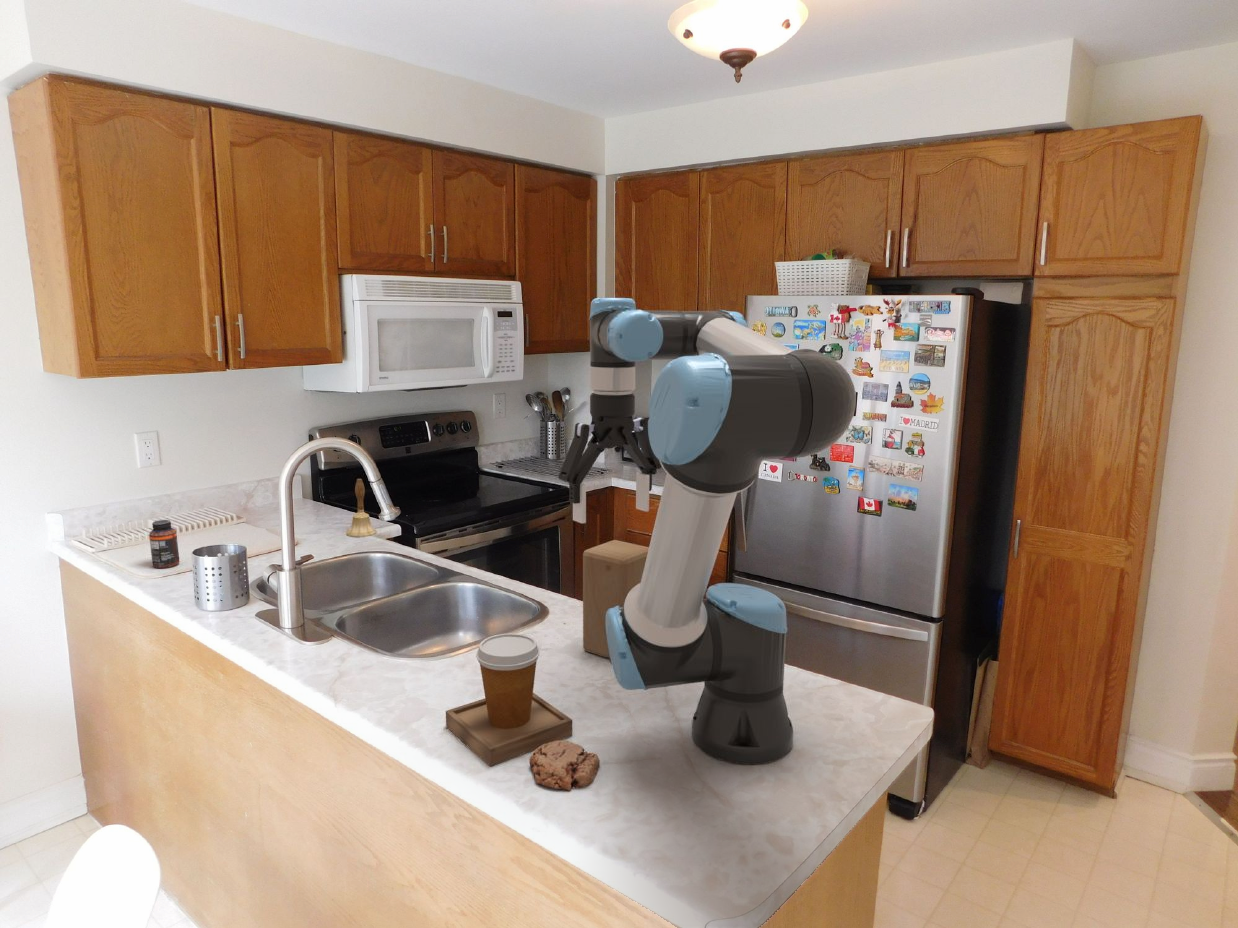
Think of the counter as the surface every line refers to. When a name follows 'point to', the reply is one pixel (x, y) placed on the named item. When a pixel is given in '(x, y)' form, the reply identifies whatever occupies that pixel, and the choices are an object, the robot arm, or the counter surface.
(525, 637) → the disposable coffee cup
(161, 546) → the supplement bottle
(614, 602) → the wooden block
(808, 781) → the counter surface
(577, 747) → the cookie
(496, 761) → the wooden tray
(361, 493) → the hand bell
